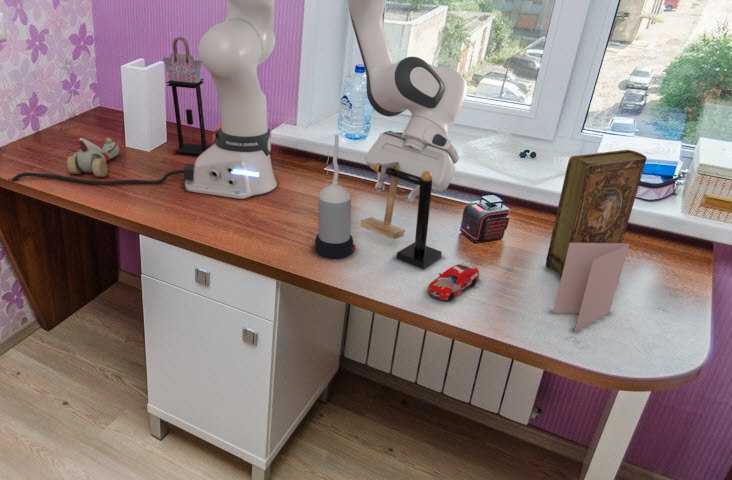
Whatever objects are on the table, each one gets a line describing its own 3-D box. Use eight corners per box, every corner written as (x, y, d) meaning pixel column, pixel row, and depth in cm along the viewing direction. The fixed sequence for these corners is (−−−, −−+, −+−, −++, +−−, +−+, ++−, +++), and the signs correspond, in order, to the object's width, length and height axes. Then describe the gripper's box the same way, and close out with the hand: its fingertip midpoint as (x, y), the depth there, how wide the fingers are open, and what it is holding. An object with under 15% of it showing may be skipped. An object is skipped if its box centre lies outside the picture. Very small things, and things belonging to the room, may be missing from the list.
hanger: (372, 222, 143) (382, 156, 137) (405, 235, 139) (417, 167, 133) (355, 227, 139) (365, 158, 132) (389, 240, 135) (401, 170, 128)
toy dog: (123, 154, 176) (118, 121, 171) (122, 179, 162) (116, 144, 157) (74, 155, 172) (66, 122, 167) (68, 181, 158) (60, 145, 153)
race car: (443, 306, 123) (446, 288, 121) (422, 295, 126) (423, 277, 124) (483, 282, 132) (485, 265, 130) (461, 272, 135) (464, 255, 132)
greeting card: (607, 310, 126) (627, 241, 118) (622, 331, 120) (644, 260, 112) (551, 310, 125) (568, 240, 116) (563, 331, 119) (581, 260, 110)
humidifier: (360, 254, 138) (364, 139, 124) (324, 261, 134) (325, 144, 120) (343, 238, 143) (345, 127, 130) (309, 245, 140) (307, 130, 126)
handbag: (215, 148, 185) (205, 36, 168) (206, 157, 179) (194, 41, 162) (180, 144, 186) (166, 32, 169) (169, 153, 179) (153, 37, 163)
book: (602, 257, 146) (631, 149, 132) (618, 268, 142) (651, 158, 128) (544, 268, 139) (568, 156, 125) (560, 281, 135) (587, 166, 121)
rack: (380, 234, 147) (385, 151, 136) (441, 257, 139) (451, 171, 129) (361, 244, 142) (364, 159, 131) (423, 269, 134) (432, 180, 124)
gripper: (378, 120, 141) (348, 175, 139) (457, 143, 132) (427, 202, 130) (389, 136, 146) (360, 189, 145) (466, 159, 137) (436, 215, 136)
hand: (392, 195), depth 137 cm, fingers open, 6 cm apart
